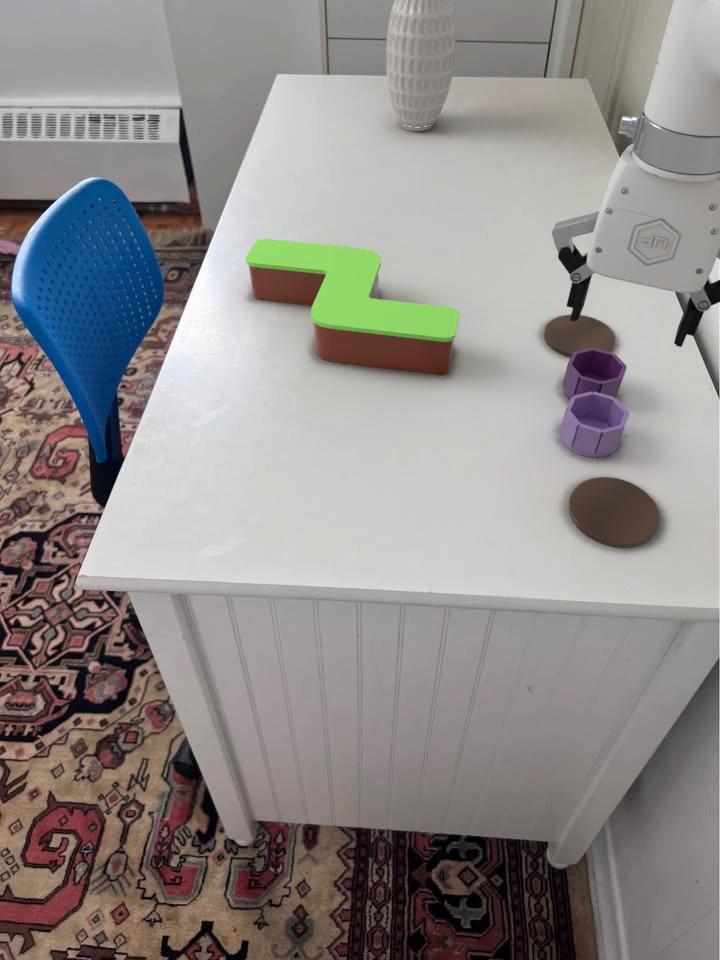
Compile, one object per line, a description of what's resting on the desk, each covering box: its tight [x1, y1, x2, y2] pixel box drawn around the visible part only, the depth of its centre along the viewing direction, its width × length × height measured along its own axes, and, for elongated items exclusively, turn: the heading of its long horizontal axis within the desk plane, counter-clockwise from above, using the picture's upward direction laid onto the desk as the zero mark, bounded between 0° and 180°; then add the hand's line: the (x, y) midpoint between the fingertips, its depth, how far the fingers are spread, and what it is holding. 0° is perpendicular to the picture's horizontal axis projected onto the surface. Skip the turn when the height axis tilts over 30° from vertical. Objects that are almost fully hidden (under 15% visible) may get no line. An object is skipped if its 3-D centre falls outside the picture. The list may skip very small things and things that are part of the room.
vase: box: [385, 0, 457, 132], centre depth 132 cm, size 13×13×28 cm
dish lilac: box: [559, 391, 630, 458], centre depth 80 cm, size 6×6×4 cm
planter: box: [245, 238, 460, 376], centre depth 95 cm, size 30×18×6 cm, turn 78°
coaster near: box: [568, 476, 660, 548], centre depth 74 cm, size 9×9×1 cm
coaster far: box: [543, 314, 616, 358], centre depth 94 cm, size 9×9×1 cm
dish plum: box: [561, 348, 628, 401], centre depth 86 cm, size 6×6×4 cm
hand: (627, 325), depth 68 cm, fingers open, 9 cm apart
